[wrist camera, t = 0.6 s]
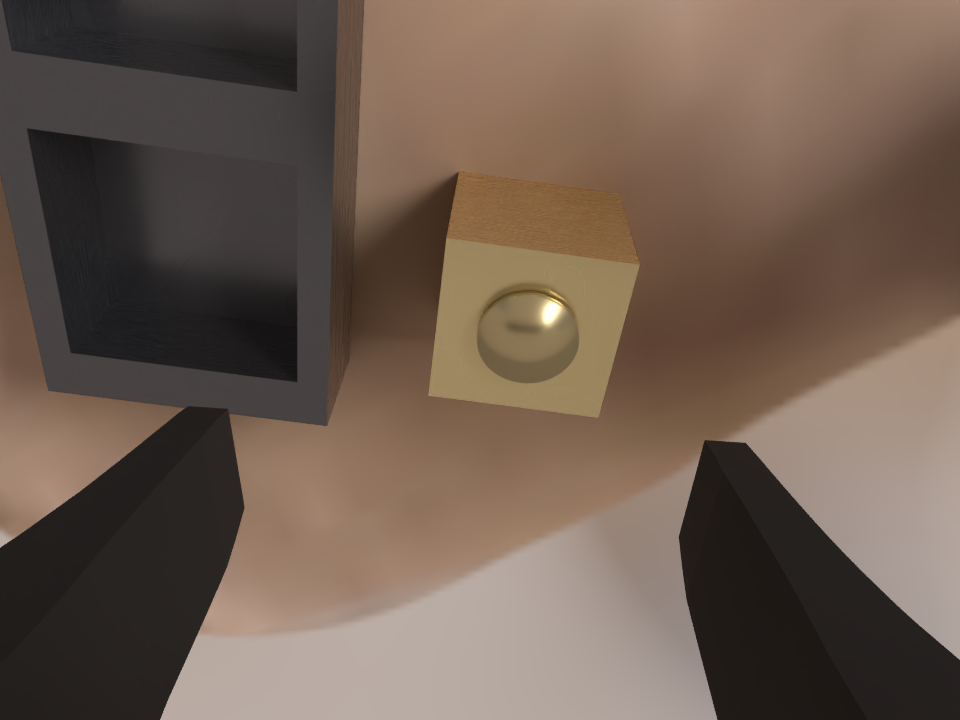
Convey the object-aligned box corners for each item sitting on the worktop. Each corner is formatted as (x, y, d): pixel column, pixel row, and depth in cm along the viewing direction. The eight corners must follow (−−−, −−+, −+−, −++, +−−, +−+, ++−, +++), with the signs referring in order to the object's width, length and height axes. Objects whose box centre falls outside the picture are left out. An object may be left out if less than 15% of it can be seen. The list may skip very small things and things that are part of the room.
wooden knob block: (618, 192, 19) (641, 271, 16) (586, 329, 21) (599, 425, 18) (459, 170, 19) (445, 244, 15) (442, 310, 21) (427, 403, 18)
